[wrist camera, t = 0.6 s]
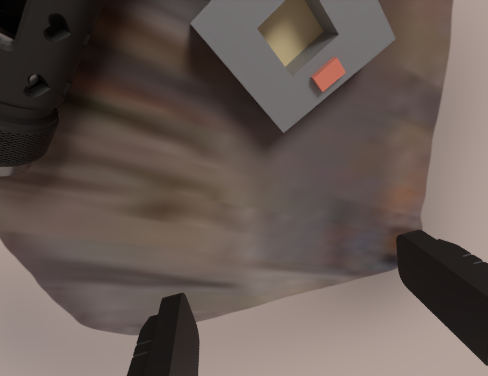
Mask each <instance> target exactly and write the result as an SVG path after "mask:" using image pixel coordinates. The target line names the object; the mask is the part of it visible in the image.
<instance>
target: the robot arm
mask: <svg viewBox="0 0 488 376" xmlns="http://www.w3.org/2000/svg"><path fill="white" fill-rule="evenodd" d="M396 243H397V258H398V270H399V275H400V278H401V280H402V282H403V283H404V285H405V286H406V287H407V288H408V289H409V290H410V291H411V292H412V293H413V294H414V295H415V296H416V297H417V298H418V299H419V300H420V301H421V302H422V303H423V304H424V305H425V306H426V307H427V308H428V309H429V310H430V311H431V312H432V313H433V314H434V315H435V316H436V317H437V318H438V319H439V320H440V321H441V322H442V323H444V325H445V326H447V327H448V328H449V329H450V330H451V331H452V332H453V333H454V334H455V335H456V336H457V337H458V338H459V339H460V340H461V341H462V342H463V343H464V344H465V345H466V346H467V347H468V348H469V349H470V350H471V351H472V352H473V353H474V354H475V355H476V356H477V357H478V358H479V359H480V360H481V361H482V362H483V363H484V364H485V365H487V366H488V263H486V262H483V261H482V260H481V259H480V258H478V257H476V256H474V255H471V253H470V252H468V251H466V250H465V249H463V248H461V247H460V246H458V245H456V244H453V243H450V242H447V241H444V240H441V239H438V240H436V239H435V238H433V237H431V236H430V235H428V234H427V233H425V232H424V231H422V230H416V231H412V232H408V233H405V234H401V235H398V236H397V239H396ZM198 362H199V334H198V329H197V325H196V322H195V319H194V317H193V314H192V311H191V308H190V306H189V303H188V300H187V298H186V295H185V294H184V293H179V294H176V295H172V296H168V297H164V298H162V301H161V304H160V309H159V313H158V315H154V316H151V317H149V319H148V320H147V322H146V323H145V324H144V326H143V327H142V329H141V331H140V334H139V337H138V341H137V346H136V348H135V351H134V354H133V358H132V361H131V364H130V367H129V371H128V374H127V376H198Z"/></svg>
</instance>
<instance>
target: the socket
mask: <svg viewBox="0 0 488 376" xmlns="http://www.w3.org/2000/svg"><path fill="white" fill-rule="evenodd" d="M190 24H191V25H192V26H193V27H194V29H195V30H196V31H197V32H198V33H199V34H200V36H201V37H202V38H203V39H204V40H205V41H206V43H207V44H208V45H209V46H210V47H211V49H212V50H213V51H214V52H215V53H216V54H217V56H218V57H219V58H220V59H221V60H222V61H223V63H224V64H225V65H226V66H227V67H228V68H229V70H230V71H231V72H232V73H233V74H234V76H235V77H236V78H237V79H238V80H239V81H240V83H241V84H242V85H243V86H244V87H245V88H246V90H247V91H248V92H249V93H250V94H251V95H252V97H253V98H254V99H255V100H256V101H257V102H258V104H259V105H260V106H261V107H262V108H263V110H264V111H265V112H266V113H267V114H268V115H269V117H270V118H271V119H272V120H273V121H274V122H275V124H276V125H277V126H278V127H279V128H280V129H281V131H282V132H283V133H284V132H286V131H287V130H288V129H289V128H290V127H292V126H293V125H294V124H295V123H296V122H298V121H299V120H300V119H301V118H302V117H303V116H305V115H306V114H307V113H308V112H309V111H311V110H312V109H313V108H314V107H315V106H317V105H318V104H319V103H320V102H321V101H322V100H324V99H325V98H326V97H327V96H328V95H330V94H331V93H332V92H333V91H334V90H336V89H337V88H338V87H339V86H340V85H341V84H343V83H344V82H345V81H346V80H347V79H349V78H350V77H351V76H352V75H353V74H355V73H356V72H357V71H358V70H359V69H361V68H362V67H363V66H364V65H365V64H366V63H368V62H369V61H370V60H371V59H372V58H374V57H375V56H376V55H377V54H378V53H380V52H381V51H382V50H383V49H384V48H385V47H387V46H388V45H389V44H390V43H391V42H393V41H394V40H395V39H396V38H395V36H394V34H393V32H392V30H391V27H390V25H389V23H388V21H387V19H386V17H385V15H384V12H383V10H382V8H381V6H380V4H379V2H378V0H210V1H209V2H208V3H207V4H206V5H205V6H204V7H203V8H202V9H201V11H200V12H199V13H198V14H197V15H196V16H195V17H194V18H193V19H192V20H191V22H190Z"/></svg>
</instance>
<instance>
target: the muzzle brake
mask: <svg viewBox="0 0 488 376" xmlns="http://www.w3.org/2000/svg"><path fill="white" fill-rule="evenodd" d="M104 3H105V0H0V177H7V176H12V175H17V174H19V173H22V172H24V171H25V170H27V169H28V168H29V167H30V166H31V165H32V163H33V162H34V161H36V160H38V159H39V158H41V157H42V156H44V154H45V153H46V152H47V150H48V147H49V145H50V143H51V140H52V138H53V135H54V133H55V131H56V128H57V126H58V121H59V118H58V111H57V108H56V107H57V106H59V105H60V104H62V103H63V101H64V100H65V97H66V95H67V93H68V90H69V88H70V85H71V83H72V80H73V78H74V76H75V73H76V71H77V68H78V66H79V63H80V61H81V59H82V56H83V54H84V51H85V49H86V46H87V44H88V42H89V39H90V36H91V34H92V32H93V29H94V27H95V25H96V22H97V20H98V17H99V15H100V12H101V10H102V8H103V5H104Z"/></svg>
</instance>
